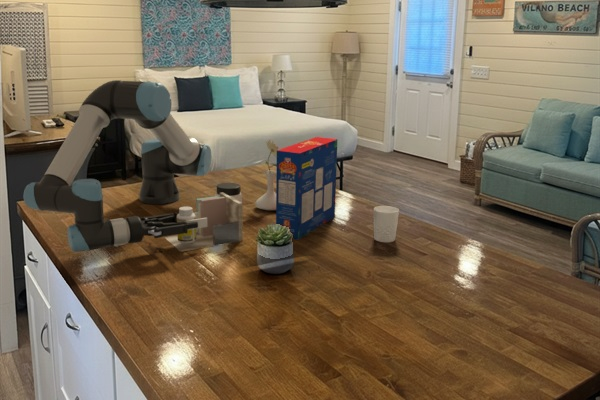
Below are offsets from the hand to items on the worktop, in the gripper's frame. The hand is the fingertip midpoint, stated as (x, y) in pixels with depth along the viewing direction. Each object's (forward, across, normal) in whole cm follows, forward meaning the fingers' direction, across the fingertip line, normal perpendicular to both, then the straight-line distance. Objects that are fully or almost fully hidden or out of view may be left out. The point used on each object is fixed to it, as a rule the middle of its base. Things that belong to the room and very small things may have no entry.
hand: (202, 219), depth 185 cm
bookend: (+6, +4, -7) cm, 10 cm away
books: (+6, -6, -7) cm, 11 cm away
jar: (+18, -20, -8) cm, 28 cm away
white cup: (+53, +22, -8) cm, 58 cm away
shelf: (+1, -2, -8) cm, 9 cm away
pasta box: (+38, -1, -8) cm, 39 cm away
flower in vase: (+37, -25, -8) cm, 45 cm away
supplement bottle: (-5, 0, -6) cm, 8 cm away
